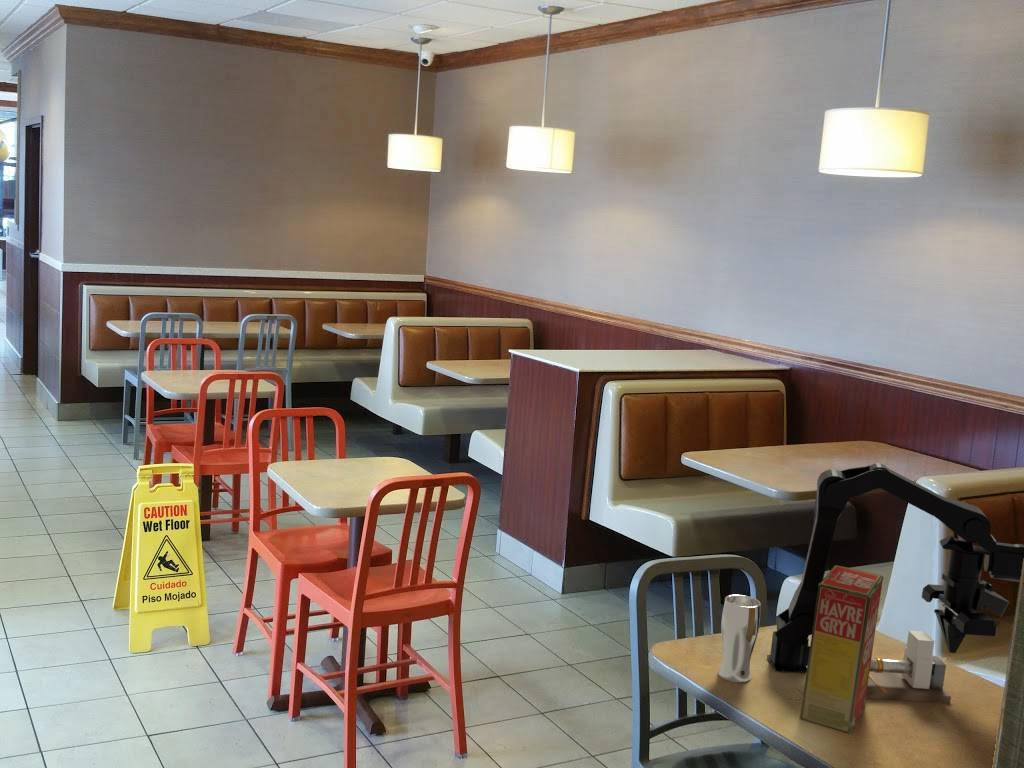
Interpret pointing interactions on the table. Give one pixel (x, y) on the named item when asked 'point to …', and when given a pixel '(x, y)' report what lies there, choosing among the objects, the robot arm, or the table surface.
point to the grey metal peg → (910, 669)
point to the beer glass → (738, 636)
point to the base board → (901, 689)
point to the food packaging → (841, 648)
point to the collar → (919, 659)
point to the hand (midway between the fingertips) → (951, 652)
